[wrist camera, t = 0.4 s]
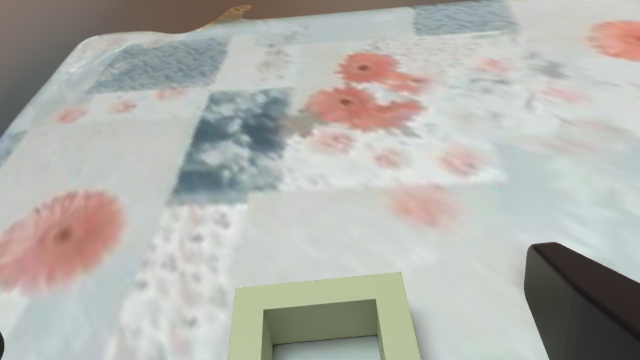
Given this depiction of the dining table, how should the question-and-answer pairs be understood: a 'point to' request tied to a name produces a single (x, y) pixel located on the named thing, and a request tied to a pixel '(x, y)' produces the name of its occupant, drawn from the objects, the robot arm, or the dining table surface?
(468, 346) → the dining table surface
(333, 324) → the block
